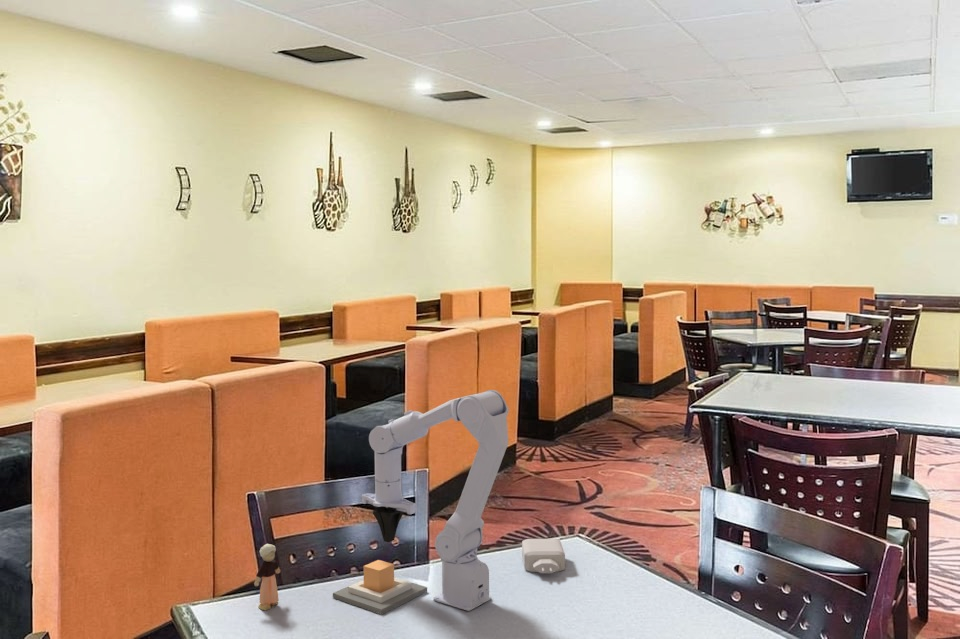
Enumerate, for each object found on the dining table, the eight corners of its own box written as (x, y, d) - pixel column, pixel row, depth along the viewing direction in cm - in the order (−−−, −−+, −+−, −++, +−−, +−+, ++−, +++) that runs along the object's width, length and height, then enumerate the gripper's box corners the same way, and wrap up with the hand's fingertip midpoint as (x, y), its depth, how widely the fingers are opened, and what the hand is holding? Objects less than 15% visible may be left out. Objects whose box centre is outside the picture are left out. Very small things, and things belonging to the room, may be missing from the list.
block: (394, 589, 169) (393, 564, 169) (379, 596, 165) (379, 570, 165) (378, 584, 172) (378, 559, 171) (363, 591, 168) (363, 566, 168)
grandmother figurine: (269, 613, 160) (268, 550, 159) (251, 611, 161) (250, 549, 160) (286, 597, 168) (285, 538, 167) (269, 596, 168) (268, 537, 168)
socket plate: (427, 591, 170) (427, 581, 170) (381, 614, 159) (381, 603, 159) (379, 577, 179) (379, 567, 178) (332, 597, 167) (332, 587, 167)
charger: (526, 582, 176) (522, 558, 191) (568, 582, 176) (560, 558, 191) (526, 561, 175) (522, 538, 190) (568, 560, 175) (560, 538, 190)
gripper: (351, 478, 175) (352, 539, 176) (400, 488, 167) (401, 552, 167) (374, 471, 181) (374, 530, 182) (422, 481, 172) (423, 543, 173)
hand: (389, 540), depth 175 cm, fingers closed
